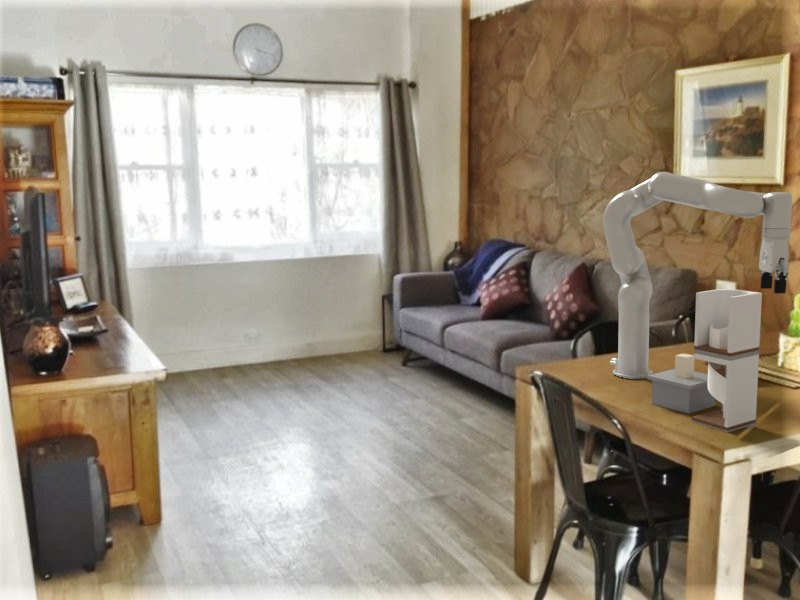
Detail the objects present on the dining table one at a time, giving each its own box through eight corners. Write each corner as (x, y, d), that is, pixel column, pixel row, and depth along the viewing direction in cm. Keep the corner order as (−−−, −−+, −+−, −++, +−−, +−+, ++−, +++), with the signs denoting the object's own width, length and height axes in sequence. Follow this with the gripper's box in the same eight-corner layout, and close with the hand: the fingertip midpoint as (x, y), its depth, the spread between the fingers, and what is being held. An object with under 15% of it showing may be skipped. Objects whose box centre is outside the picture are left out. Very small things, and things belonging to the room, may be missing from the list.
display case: (719, 416, 206) (724, 288, 201) (755, 426, 197) (762, 292, 192) (691, 424, 200) (696, 292, 195) (727, 435, 191) (733, 297, 186)
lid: (647, 382, 216) (647, 354, 215) (678, 374, 224) (678, 347, 222) (690, 393, 204) (691, 363, 203) (721, 384, 212) (722, 356, 211)
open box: (651, 406, 217) (652, 379, 215) (678, 398, 223) (679, 372, 222) (688, 416, 207) (689, 388, 206) (715, 408, 213) (716, 380, 212)
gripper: (751, 232, 237) (748, 286, 239) (775, 236, 219) (771, 295, 222) (776, 231, 236) (773, 286, 239) (802, 236, 219) (798, 295, 222)
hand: (772, 290), depth 230 cm, fingers open, 9 cm apart
